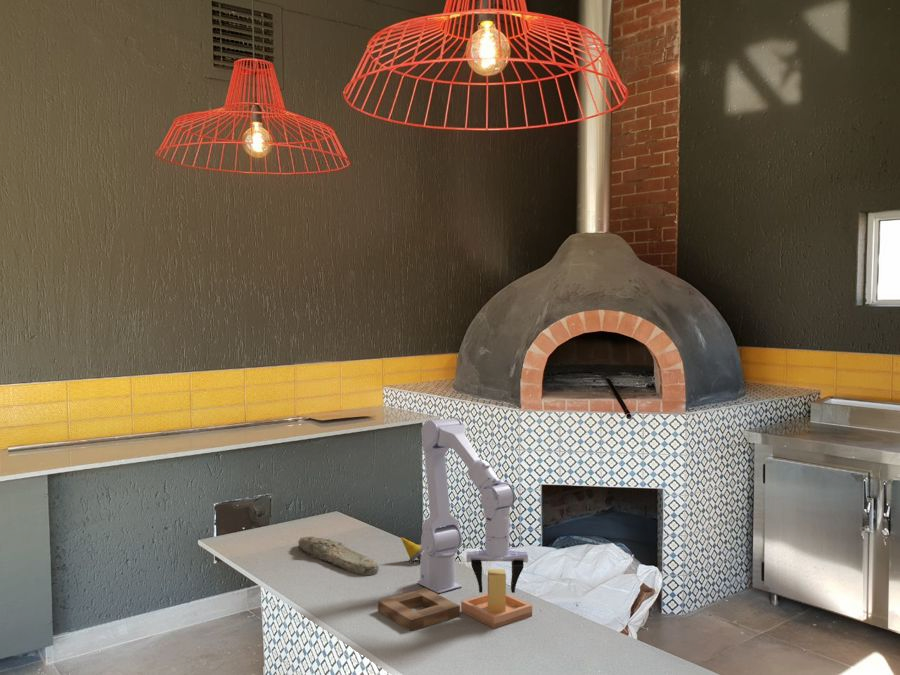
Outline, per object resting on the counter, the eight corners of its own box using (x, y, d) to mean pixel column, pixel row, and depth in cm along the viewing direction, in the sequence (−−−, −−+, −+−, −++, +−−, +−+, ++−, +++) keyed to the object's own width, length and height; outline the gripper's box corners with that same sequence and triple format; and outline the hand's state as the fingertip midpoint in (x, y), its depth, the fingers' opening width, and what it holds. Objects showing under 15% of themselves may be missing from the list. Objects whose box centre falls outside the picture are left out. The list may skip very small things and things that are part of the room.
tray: (461, 611, 180) (461, 601, 180) (498, 600, 188) (498, 590, 188) (493, 628, 171) (494, 617, 171) (532, 615, 178) (532, 605, 178)
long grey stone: (358, 585, 201) (387, 578, 208) (360, 565, 201) (388, 559, 208) (288, 547, 226) (315, 542, 233) (289, 530, 226) (317, 525, 233)
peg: (488, 612, 177) (489, 575, 177) (487, 606, 181) (487, 569, 181) (505, 612, 177) (505, 575, 177) (504, 606, 181) (504, 569, 181)
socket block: (377, 611, 180) (378, 600, 180) (425, 597, 189) (425, 588, 189) (411, 631, 169) (411, 620, 169) (459, 616, 178) (459, 605, 177)
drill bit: (420, 568, 212) (396, 542, 213) (416, 570, 217) (392, 545, 218) (433, 554, 214) (408, 529, 215) (429, 556, 219) (405, 531, 220)
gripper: (467, 539, 174) (466, 597, 175) (529, 540, 175) (528, 597, 175) (466, 530, 182) (465, 586, 182) (526, 531, 182) (525, 586, 182)
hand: (496, 591), depth 179 cm, fingers open, 7 cm apart
